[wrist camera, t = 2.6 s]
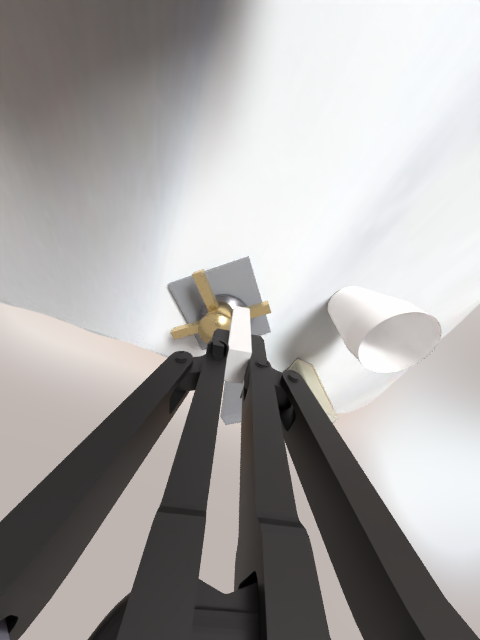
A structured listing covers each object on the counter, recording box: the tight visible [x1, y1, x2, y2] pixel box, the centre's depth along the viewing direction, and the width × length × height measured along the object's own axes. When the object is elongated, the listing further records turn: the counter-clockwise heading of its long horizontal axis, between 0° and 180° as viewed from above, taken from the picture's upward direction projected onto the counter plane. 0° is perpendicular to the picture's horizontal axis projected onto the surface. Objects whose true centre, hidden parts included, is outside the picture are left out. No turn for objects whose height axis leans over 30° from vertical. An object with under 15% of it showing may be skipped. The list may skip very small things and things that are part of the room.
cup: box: [328, 286, 441, 373], centre depth 26 cm, size 9×9×12 cm
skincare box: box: [287, 359, 338, 423], centre depth 34 cm, size 6×4×12 cm
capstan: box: [170, 269, 271, 344], centre depth 28 cm, size 17×16×7 cm
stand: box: [168, 256, 271, 425], centre depth 28 cm, size 20×14×14 cm
